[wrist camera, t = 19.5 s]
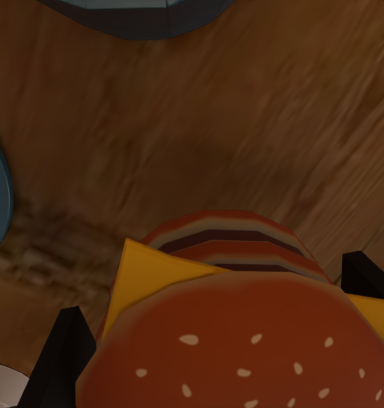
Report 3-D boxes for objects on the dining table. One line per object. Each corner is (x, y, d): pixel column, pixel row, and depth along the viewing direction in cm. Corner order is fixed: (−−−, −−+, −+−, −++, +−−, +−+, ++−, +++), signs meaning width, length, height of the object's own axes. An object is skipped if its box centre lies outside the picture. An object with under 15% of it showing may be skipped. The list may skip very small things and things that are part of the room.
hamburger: (275, 373, 15) (341, 566, 9) (94, 351, 14) (34, 565, 8) (359, 224, 12) (554, 384, 6) (126, 172, 10) (61, 315, 4)
